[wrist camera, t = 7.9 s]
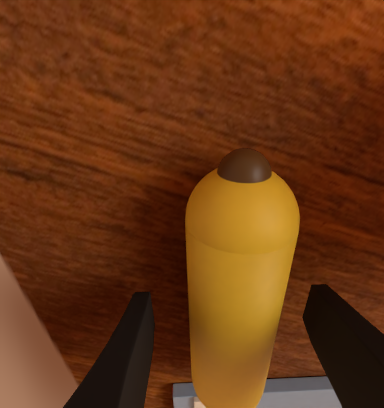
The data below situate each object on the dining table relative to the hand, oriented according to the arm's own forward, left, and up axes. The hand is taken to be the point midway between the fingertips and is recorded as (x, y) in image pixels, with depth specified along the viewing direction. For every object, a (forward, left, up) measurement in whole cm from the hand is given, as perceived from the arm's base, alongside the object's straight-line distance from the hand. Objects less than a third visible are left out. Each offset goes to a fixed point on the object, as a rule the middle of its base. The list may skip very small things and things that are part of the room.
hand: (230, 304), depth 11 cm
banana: (0, 0, -2) cm, 2 cm away
